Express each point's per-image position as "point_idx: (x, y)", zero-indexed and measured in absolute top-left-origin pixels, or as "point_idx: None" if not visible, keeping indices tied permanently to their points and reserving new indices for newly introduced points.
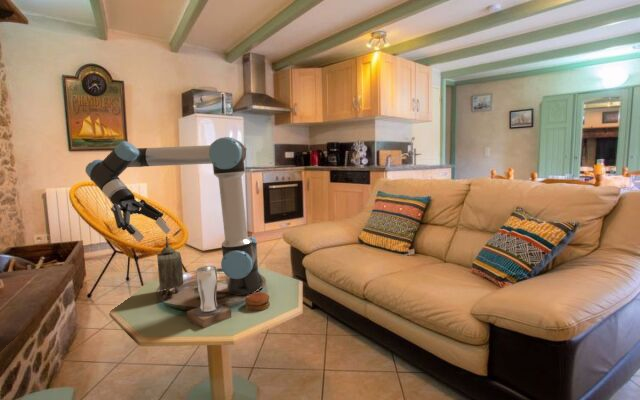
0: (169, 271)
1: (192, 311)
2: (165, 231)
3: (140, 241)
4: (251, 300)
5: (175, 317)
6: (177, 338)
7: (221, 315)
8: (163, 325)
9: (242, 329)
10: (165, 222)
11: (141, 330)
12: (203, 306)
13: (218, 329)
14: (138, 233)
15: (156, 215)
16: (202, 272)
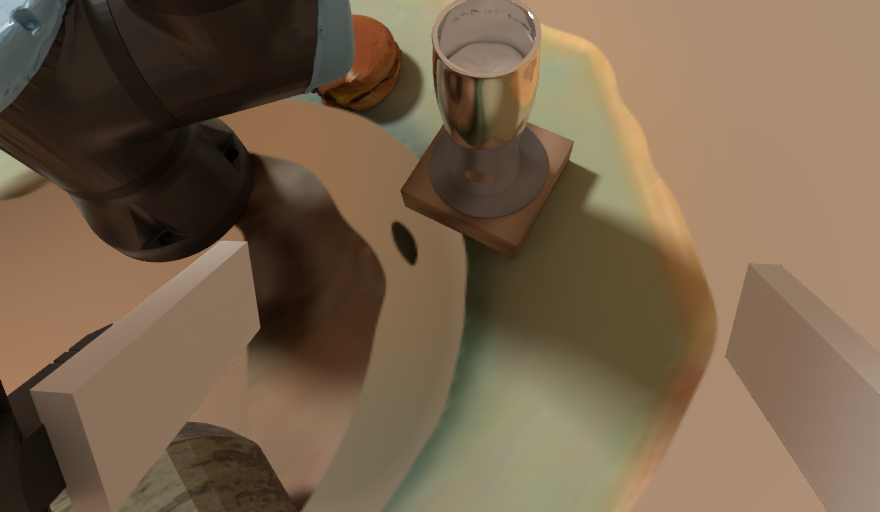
0: (253, 483)
1: (513, 221)
2: (245, 321)
3: (729, 346)
4: (386, 51)
5: (508, 320)
6: (661, 203)
7: None
8: (587, 322)
9: (542, 45)
10: (91, 335)
11: (653, 386)
12: (518, 154)
13: (561, 111)
14: (824, 310)
15: (13, 460)
16: (539, 30)
